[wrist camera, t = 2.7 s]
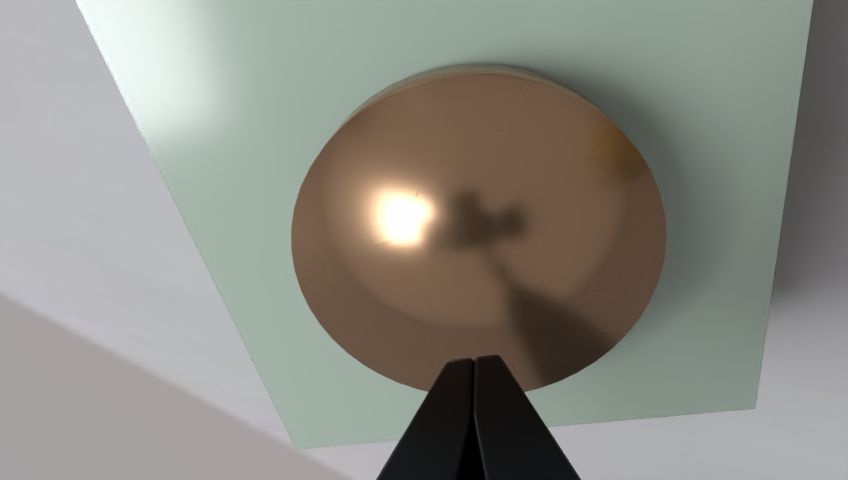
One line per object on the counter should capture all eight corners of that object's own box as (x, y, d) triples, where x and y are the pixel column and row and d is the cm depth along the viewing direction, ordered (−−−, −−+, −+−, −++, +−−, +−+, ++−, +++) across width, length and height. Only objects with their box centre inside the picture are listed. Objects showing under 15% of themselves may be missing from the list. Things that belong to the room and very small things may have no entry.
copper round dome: (609, 265, 17) (663, 380, 12) (377, 297, 18) (349, 411, 13) (598, 5, 13) (670, 32, 8) (306, 69, 14) (233, 121, 10)
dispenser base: (687, 303, 19) (754, 408, 14) (330, 347, 21) (295, 449, 17) (708, -161, 12) (845, -226, 8) (186, -26, 14) (67, -17, 10)
